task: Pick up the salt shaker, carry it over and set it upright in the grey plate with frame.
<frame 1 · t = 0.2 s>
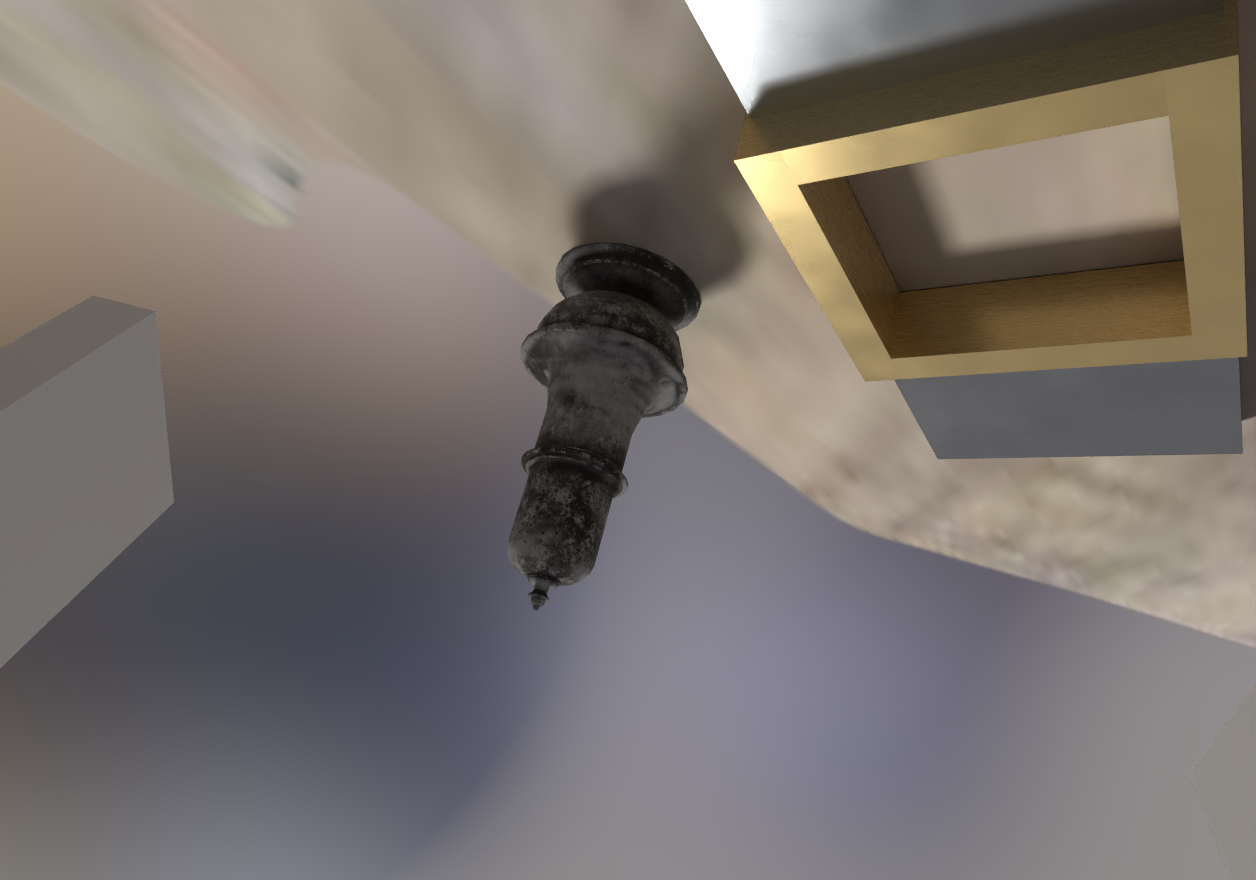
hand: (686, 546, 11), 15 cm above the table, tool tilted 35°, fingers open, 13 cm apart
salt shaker: (628, 285, 34), on the table
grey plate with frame: (1007, 187, 25), on the table
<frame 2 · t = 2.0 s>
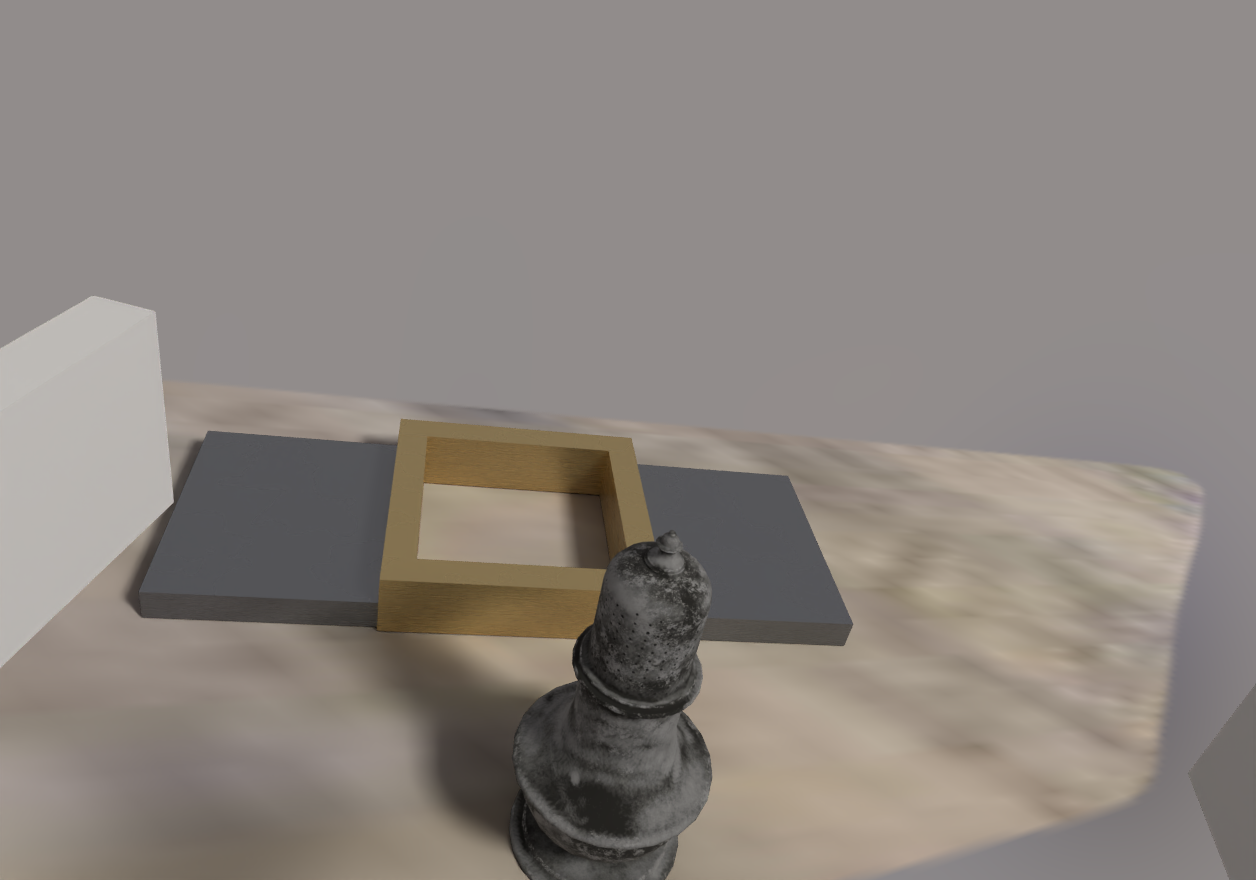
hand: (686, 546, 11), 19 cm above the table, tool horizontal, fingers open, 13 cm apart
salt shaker: (593, 833, 30), on the table
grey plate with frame: (515, 546, 40), on the table
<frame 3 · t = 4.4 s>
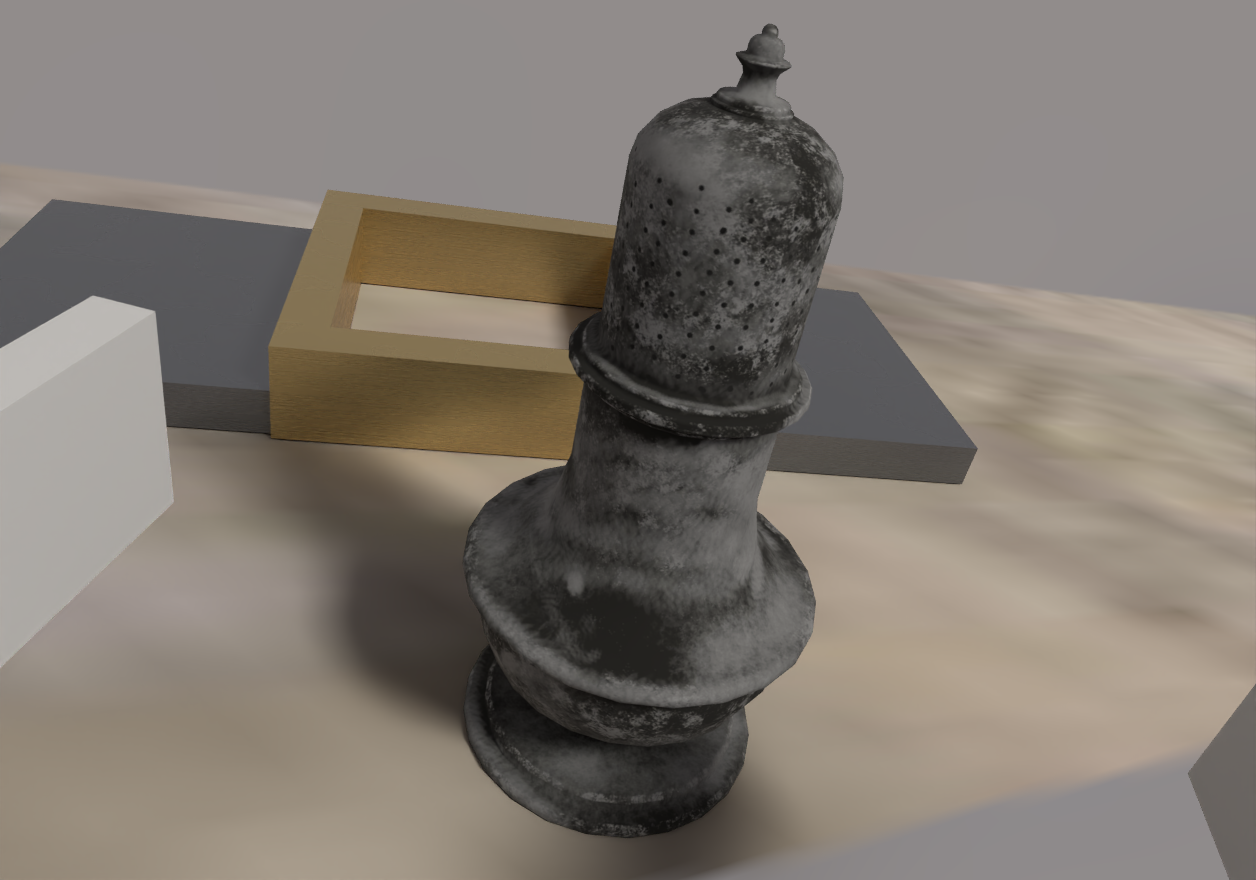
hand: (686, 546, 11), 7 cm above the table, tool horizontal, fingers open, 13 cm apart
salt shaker: (605, 717, 18), on the table
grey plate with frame: (487, 354, 28), on the table
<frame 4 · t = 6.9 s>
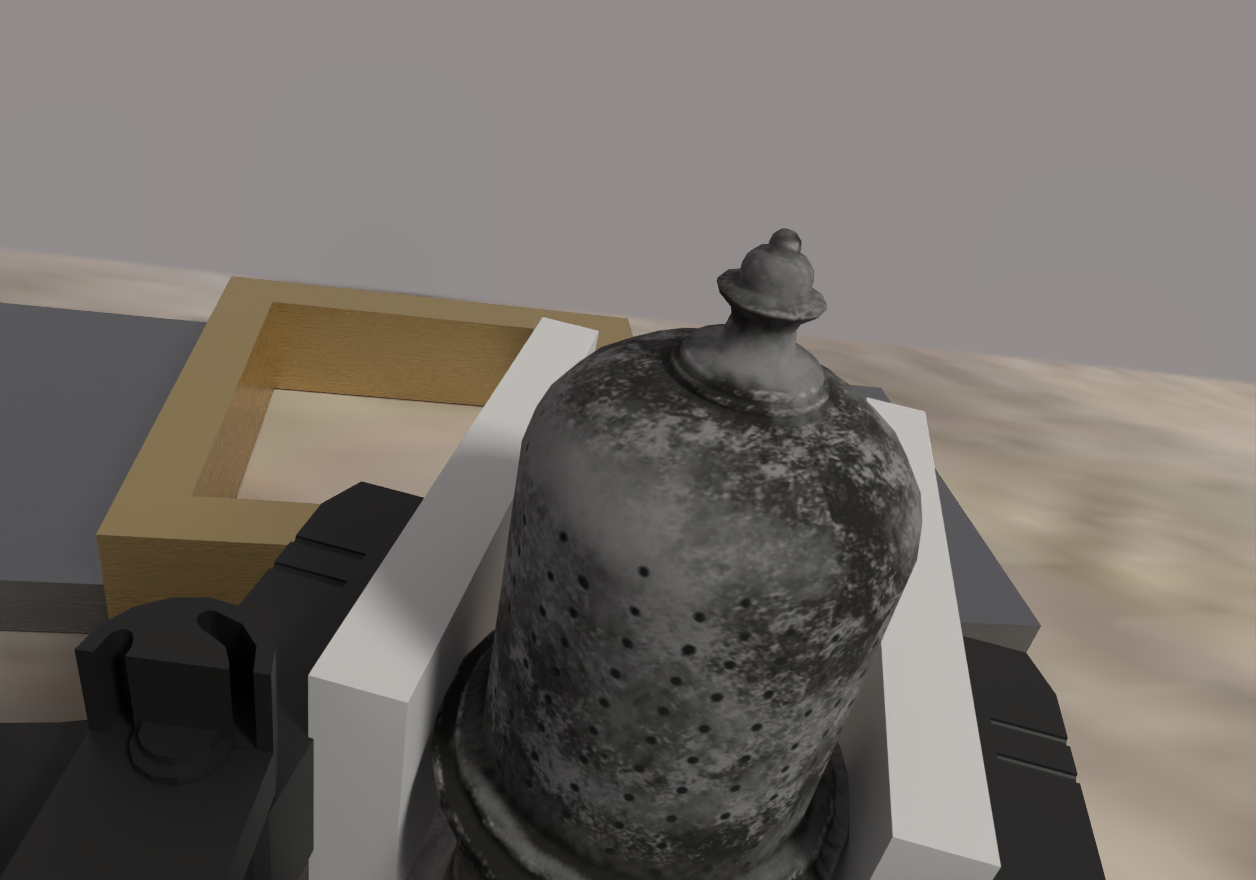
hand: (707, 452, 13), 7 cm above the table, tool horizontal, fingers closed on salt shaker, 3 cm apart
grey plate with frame: (421, 489, 23), on the table
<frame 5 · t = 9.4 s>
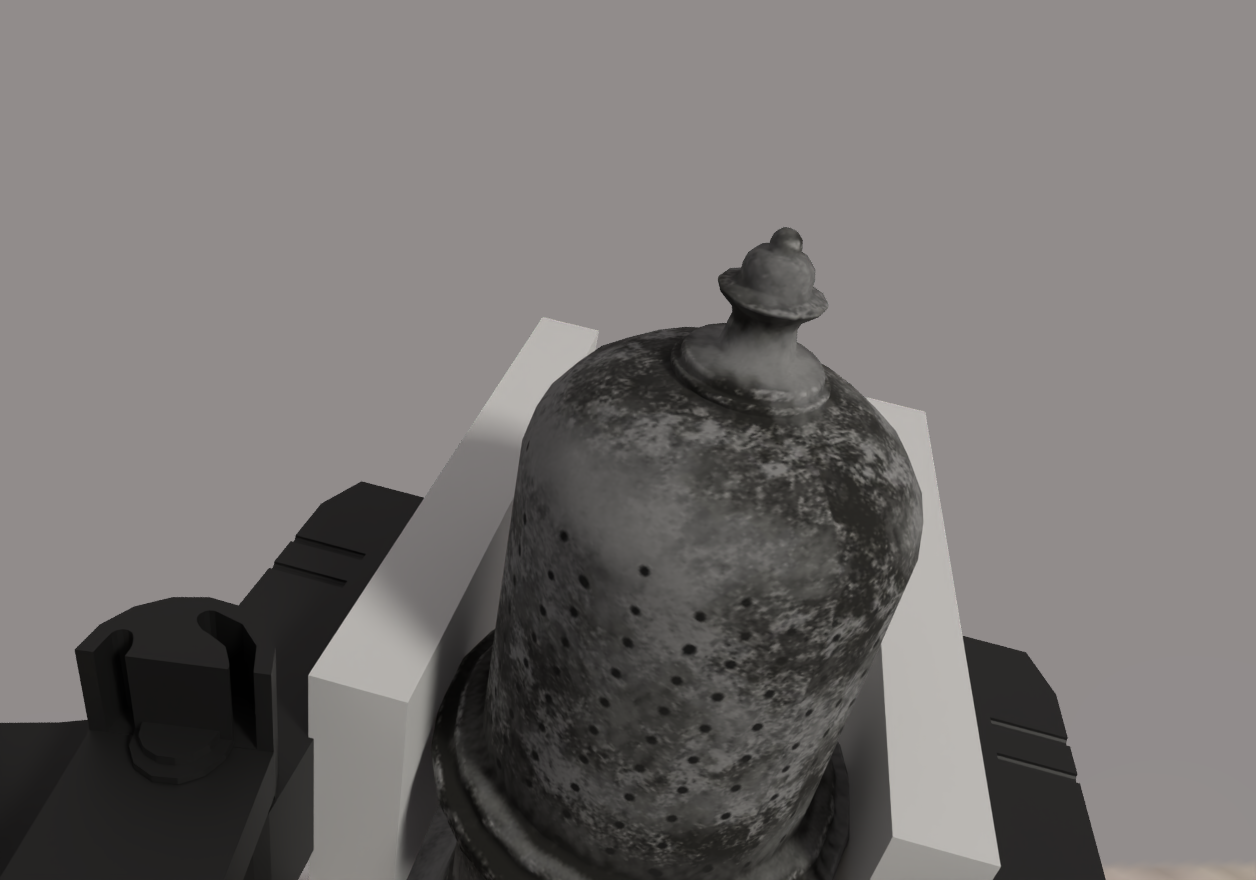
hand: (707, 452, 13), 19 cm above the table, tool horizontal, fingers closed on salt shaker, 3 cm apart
when the fingers open (8 cm above the table, at t = 11.8 s): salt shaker drops 1 cm, resting in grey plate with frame.
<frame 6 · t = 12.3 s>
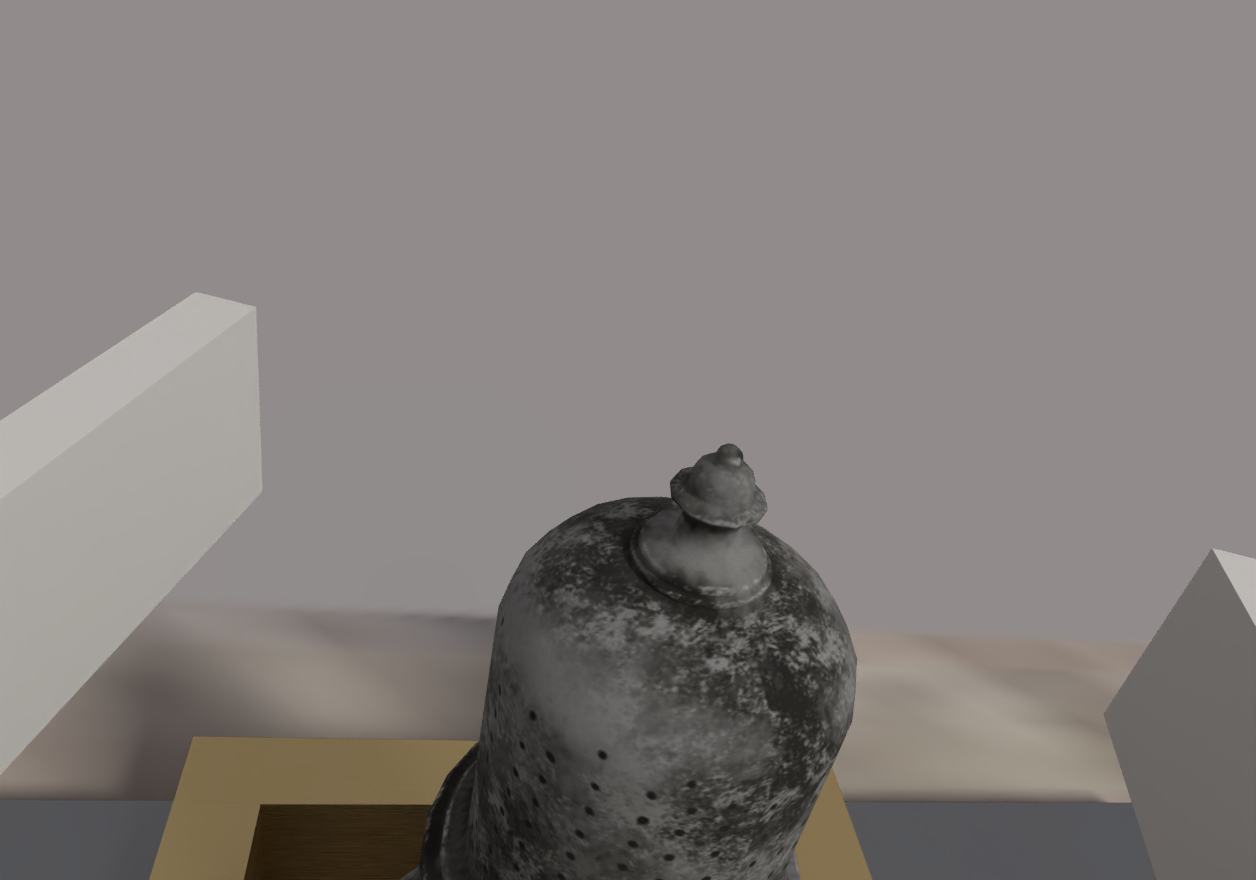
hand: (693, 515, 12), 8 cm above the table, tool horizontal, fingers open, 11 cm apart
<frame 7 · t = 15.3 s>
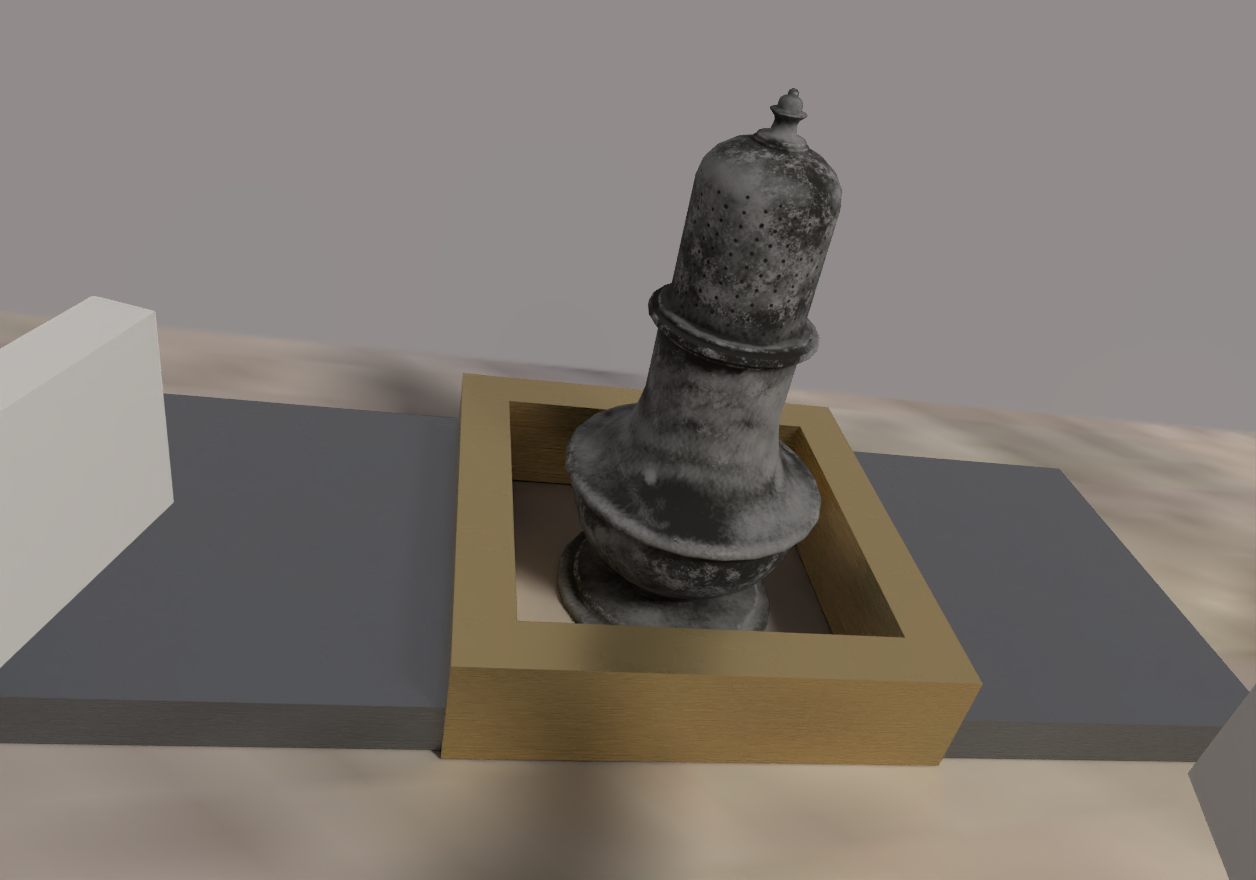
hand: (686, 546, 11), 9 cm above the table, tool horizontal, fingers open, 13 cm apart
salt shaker: (661, 594, 24), resting in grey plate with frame
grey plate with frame: (663, 586, 23), on the table
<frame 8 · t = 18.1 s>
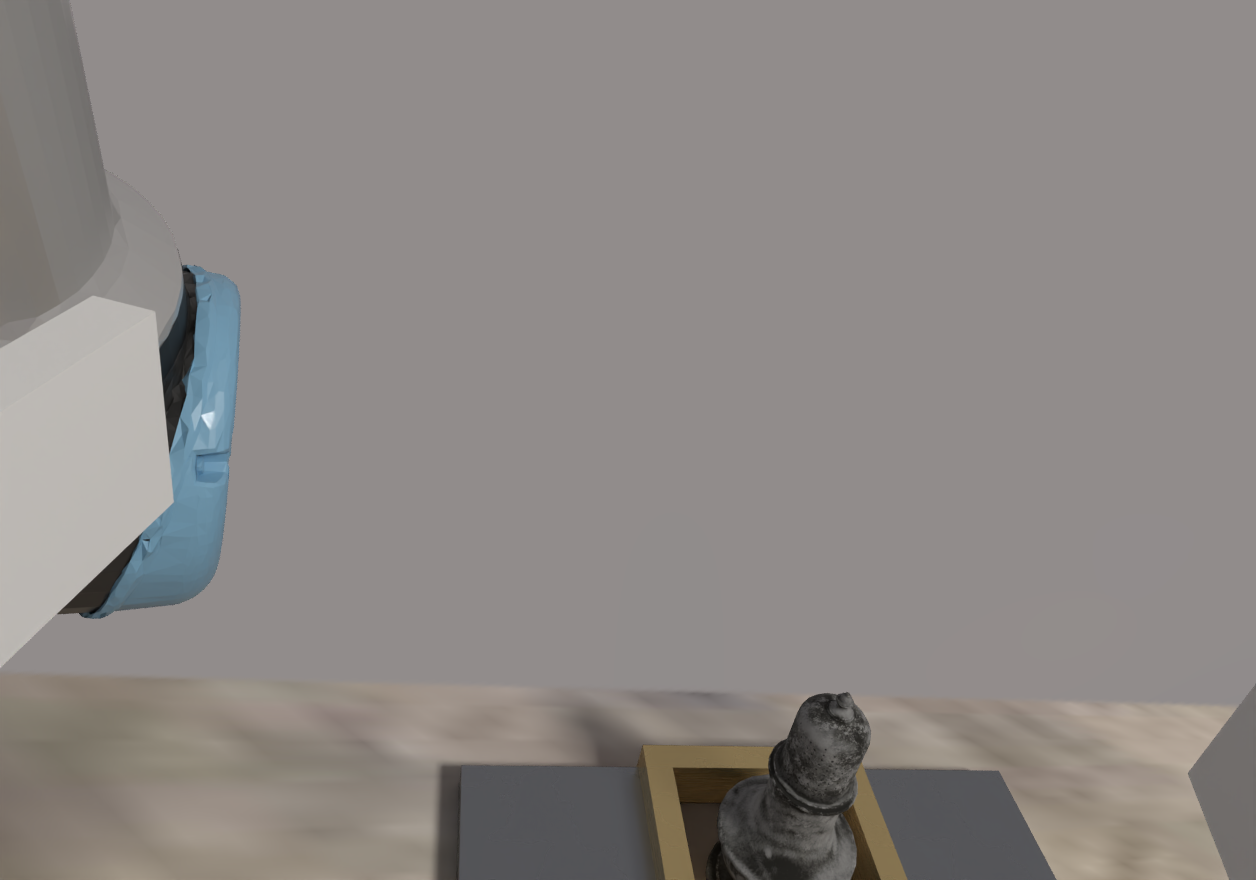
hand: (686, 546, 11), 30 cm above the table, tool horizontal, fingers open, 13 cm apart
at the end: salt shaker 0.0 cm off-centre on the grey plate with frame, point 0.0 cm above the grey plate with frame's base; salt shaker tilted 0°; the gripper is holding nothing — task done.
